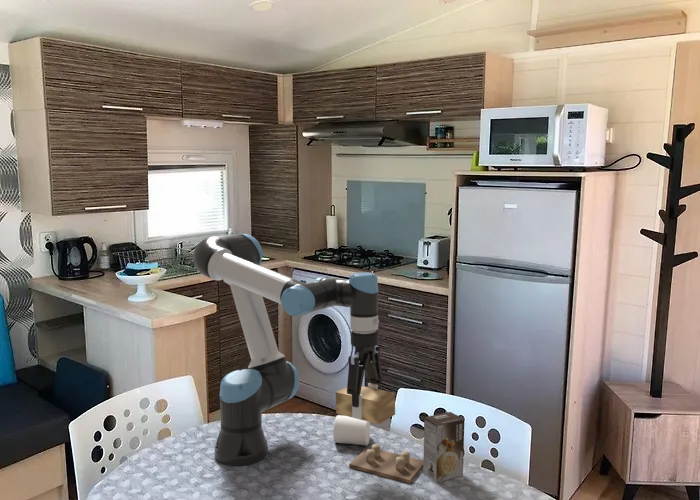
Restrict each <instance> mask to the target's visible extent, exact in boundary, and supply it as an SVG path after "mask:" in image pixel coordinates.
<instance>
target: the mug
mask: <svg viewBox="0 0 700 500" xmlns="http://www.w3.org/2000/svg"><path fill="white" fill-rule="evenodd" d="M333 422H334V423H333V430H332V432H333V433H332V435H333V436H332V437H333V441H334V442H333V443H339V444H348V445H358V446H365V447H368V445H369V442H370V436H371V422H368V421H364V420H360V419H356V418H352V417H348V416H344V415H341V414H338V415H336V416H335V420H334V421H333Z"/></svg>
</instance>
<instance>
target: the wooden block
mask: <svg viewBox="0 0 700 500" xmlns="http://www.w3.org/2000/svg"><path fill="white" fill-rule="evenodd" d="M360 394H362V419H360V420H364V421H368V422H370V423H372V424H376V425H381V424H383V423H384V422H386V421H387V420H389V419H390V418H392V417H394V416H395V415H396V392H391V391H386V390H383V389H374V388H369V387H368V386H365V385H364V386H363V385H362V387H361V393H360ZM335 414H338V415H342V416H348V417H352V395H351V394H347V386H345V387H344V388H341V389H339V390H337V391H335ZM352 418H353V417H352ZM356 419H358V418H356Z"/></svg>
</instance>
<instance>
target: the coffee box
mask: <svg viewBox="0 0 700 500" xmlns="http://www.w3.org/2000/svg"><path fill="white" fill-rule="evenodd" d="M465 420H466V419H465V418H463V417H460V416H459V415H457V413H456V414H455V413H454V412H452V411H447V412H443V413H438V414H433V415H428V416H425V417H423V423H424V424H423V459H422V460H423V468H422V470H423V471H422V473H423V474H424V475H425V476H427V477H428V478H429V479H430V480H432V481H433V482H434V483H436V484H437V483H440V482H444V481H448V480H451V479H456V478H459V477H462V476H464V454H465V453H464V448H465Z"/></svg>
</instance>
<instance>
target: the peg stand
mask: <svg viewBox="0 0 700 500" xmlns="http://www.w3.org/2000/svg"><path fill="white" fill-rule="evenodd" d="M348 468H350V469H354V470H358V471H362V472H366V473H369V474H373V475H377V476H381V477H383V478H387V479H391V480H395V481H398V482H402V483H406V484H409V485H410V484H411V483H412V482H413V481H414V479H415V478H416V477H417V476H418V475H419V473H420V472H421V470H423V459H420V458H419V459H418V458H416V457H412V456H411V453H410V451H406V450H404V451H401V452H400V454H399V453H395V452H391V451H387V450H382V449H381V445H380V444H378V443H375V444H372V445H371V447H370V446H366V448H365V449H364V450H362V451H361V453H359V454H358V455H357V456H356V457H355V458H354V459H353V460H352V461H350V462H349V464H348Z"/></svg>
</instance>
